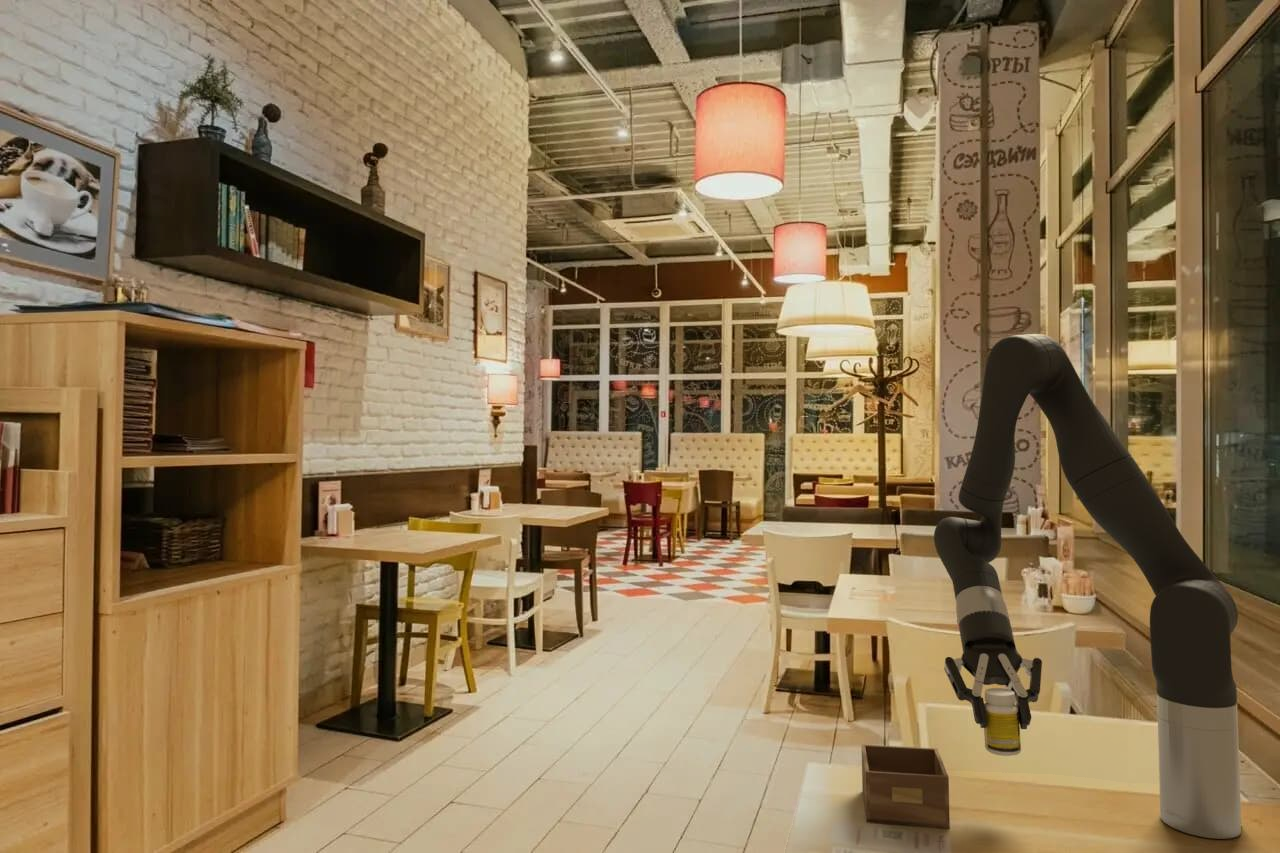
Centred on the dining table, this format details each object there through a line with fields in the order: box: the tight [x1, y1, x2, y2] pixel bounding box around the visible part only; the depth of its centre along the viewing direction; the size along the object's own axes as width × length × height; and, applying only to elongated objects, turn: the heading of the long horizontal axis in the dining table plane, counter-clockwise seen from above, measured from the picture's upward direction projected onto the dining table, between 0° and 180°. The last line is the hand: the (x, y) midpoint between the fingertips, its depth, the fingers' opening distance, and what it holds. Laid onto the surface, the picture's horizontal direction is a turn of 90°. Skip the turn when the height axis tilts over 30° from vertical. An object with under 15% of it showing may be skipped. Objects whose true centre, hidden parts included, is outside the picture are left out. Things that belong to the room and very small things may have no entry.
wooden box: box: [861, 744, 951, 829], centre depth 122 cm, size 11×11×7 cm
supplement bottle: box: [983, 687, 1022, 757], centre depth 121 cm, size 5×5×8 cm
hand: (1004, 725), depth 119 cm, fingers closed on supplement bottle, 4 cm apart
